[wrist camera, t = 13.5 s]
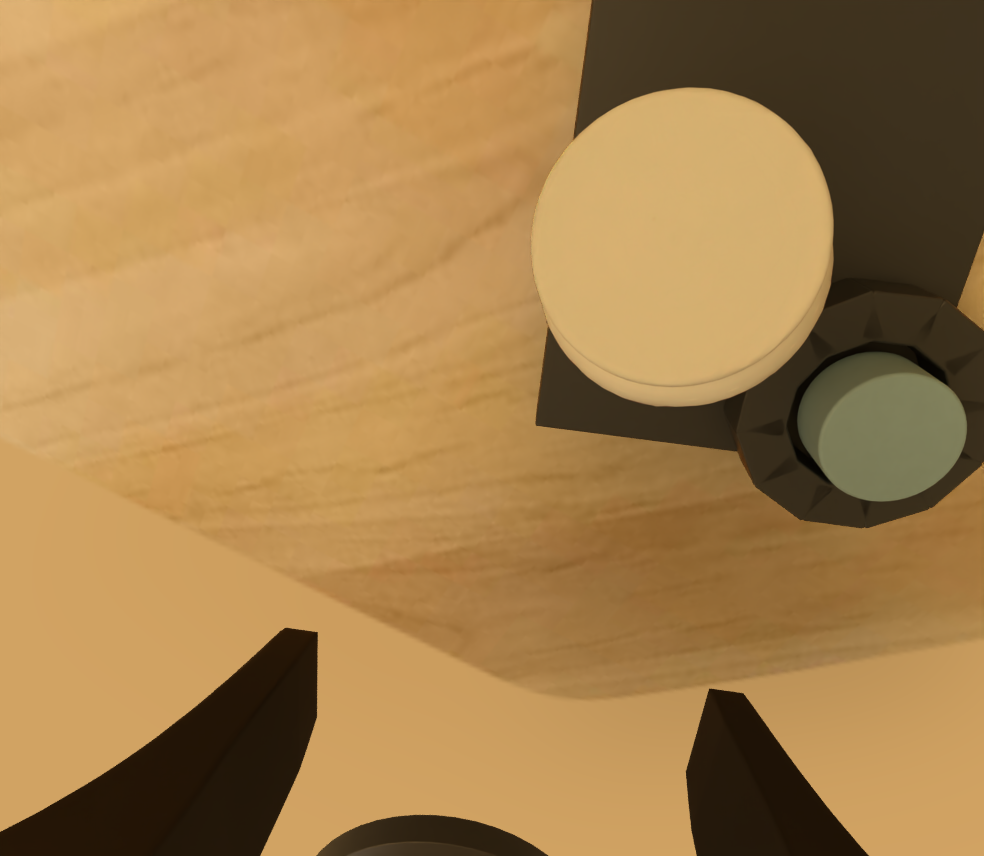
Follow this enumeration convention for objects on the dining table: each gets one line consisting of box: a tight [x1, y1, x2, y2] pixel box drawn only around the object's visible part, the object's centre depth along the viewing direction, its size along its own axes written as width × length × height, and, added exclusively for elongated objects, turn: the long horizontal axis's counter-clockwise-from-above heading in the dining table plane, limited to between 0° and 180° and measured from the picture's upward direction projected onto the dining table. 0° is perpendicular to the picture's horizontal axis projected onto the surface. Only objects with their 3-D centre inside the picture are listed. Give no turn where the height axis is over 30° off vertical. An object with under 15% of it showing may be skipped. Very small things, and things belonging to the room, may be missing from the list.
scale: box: [536, 0, 984, 528], centre depth 18 cm, size 13×11×3 cm
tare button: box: [797, 351, 967, 502], centre depth 17 cm, size 3×3×2 cm
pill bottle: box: [531, 87, 834, 407], centre depth 14 cm, size 5×5×8 cm
